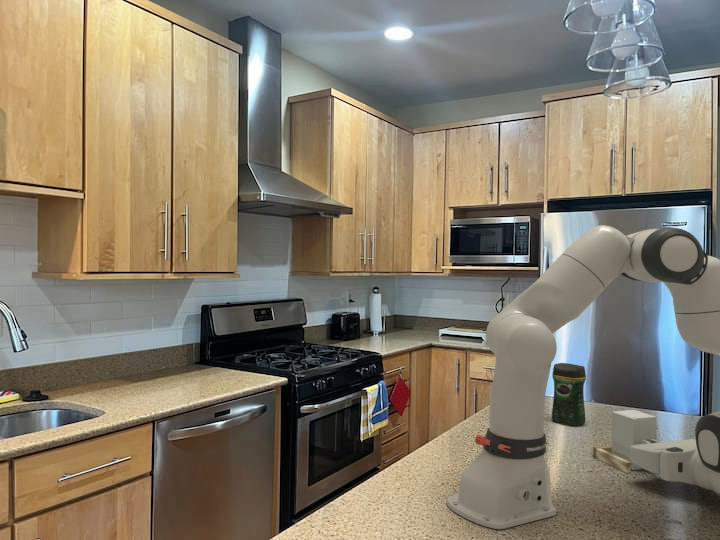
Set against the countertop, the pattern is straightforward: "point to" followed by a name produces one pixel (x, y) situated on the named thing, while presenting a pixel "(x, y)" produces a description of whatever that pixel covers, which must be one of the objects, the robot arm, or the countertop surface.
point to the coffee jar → (568, 394)
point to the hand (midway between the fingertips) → (645, 442)
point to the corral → (611, 458)
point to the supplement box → (631, 432)
